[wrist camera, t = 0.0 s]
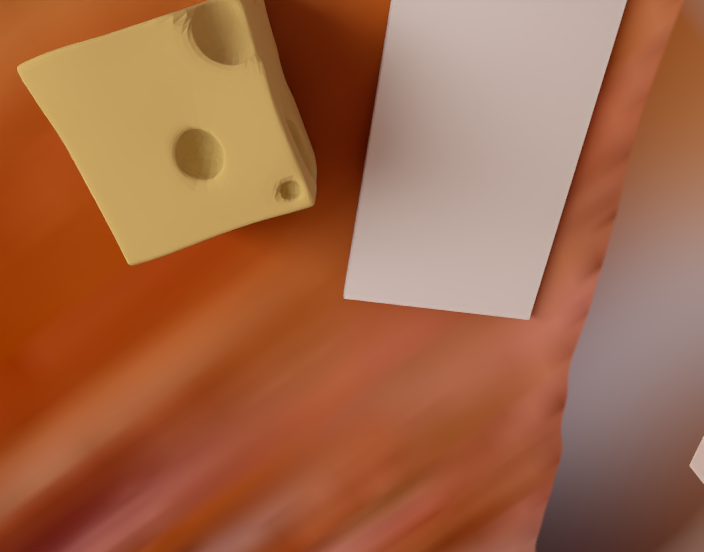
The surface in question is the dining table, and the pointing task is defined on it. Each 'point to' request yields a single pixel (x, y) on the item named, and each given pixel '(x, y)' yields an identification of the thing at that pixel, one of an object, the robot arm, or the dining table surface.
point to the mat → (475, 149)
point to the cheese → (180, 125)
